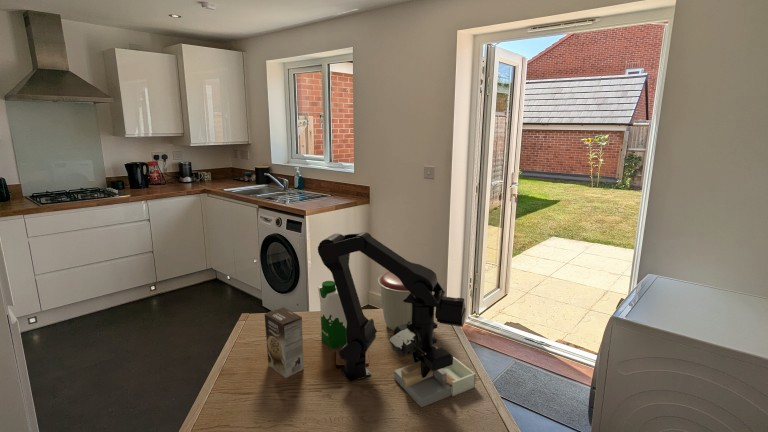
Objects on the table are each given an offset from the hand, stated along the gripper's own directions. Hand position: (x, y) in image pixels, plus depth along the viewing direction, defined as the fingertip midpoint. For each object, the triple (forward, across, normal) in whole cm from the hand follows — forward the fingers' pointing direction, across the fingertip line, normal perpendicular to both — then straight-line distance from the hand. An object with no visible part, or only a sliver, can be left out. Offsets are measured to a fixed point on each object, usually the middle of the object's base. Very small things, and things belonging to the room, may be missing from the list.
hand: (421, 374), depth 107 cm
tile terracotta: (+2, +3, +6) cm, 7 cm away
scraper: (+1, 0, -1) cm, 1 cm away
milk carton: (+4, -32, -10) cm, 34 cm away
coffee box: (+4, -26, -28) cm, 39 cm away
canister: (+4, -30, +14) cm, 33 cm away
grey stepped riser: (+4, 0, 0) cm, 4 cm away
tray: (+4, 0, +9) cm, 9 cm away
